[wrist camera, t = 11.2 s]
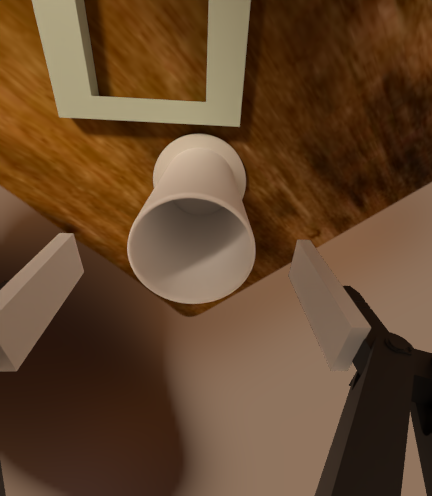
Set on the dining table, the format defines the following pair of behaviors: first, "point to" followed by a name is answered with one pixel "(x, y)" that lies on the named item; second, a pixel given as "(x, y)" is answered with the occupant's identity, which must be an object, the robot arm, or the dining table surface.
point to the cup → (193, 232)
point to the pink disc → (202, 142)
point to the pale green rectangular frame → (137, 109)
